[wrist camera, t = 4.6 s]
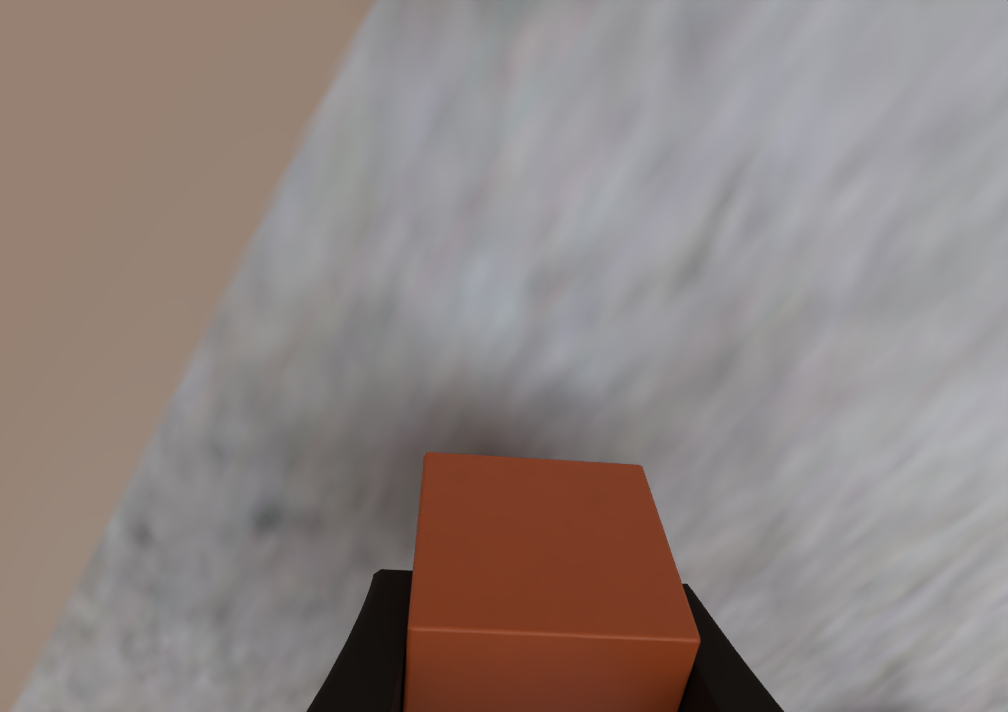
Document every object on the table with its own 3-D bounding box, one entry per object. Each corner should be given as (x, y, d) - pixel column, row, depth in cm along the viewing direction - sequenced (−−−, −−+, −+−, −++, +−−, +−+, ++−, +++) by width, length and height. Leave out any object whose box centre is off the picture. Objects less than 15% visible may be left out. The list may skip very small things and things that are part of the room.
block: (642, 463, 13) (703, 640, 10) (606, 618, 15) (646, 813, 12) (424, 449, 13) (407, 628, 10) (413, 609, 15) (396, 808, 12)
